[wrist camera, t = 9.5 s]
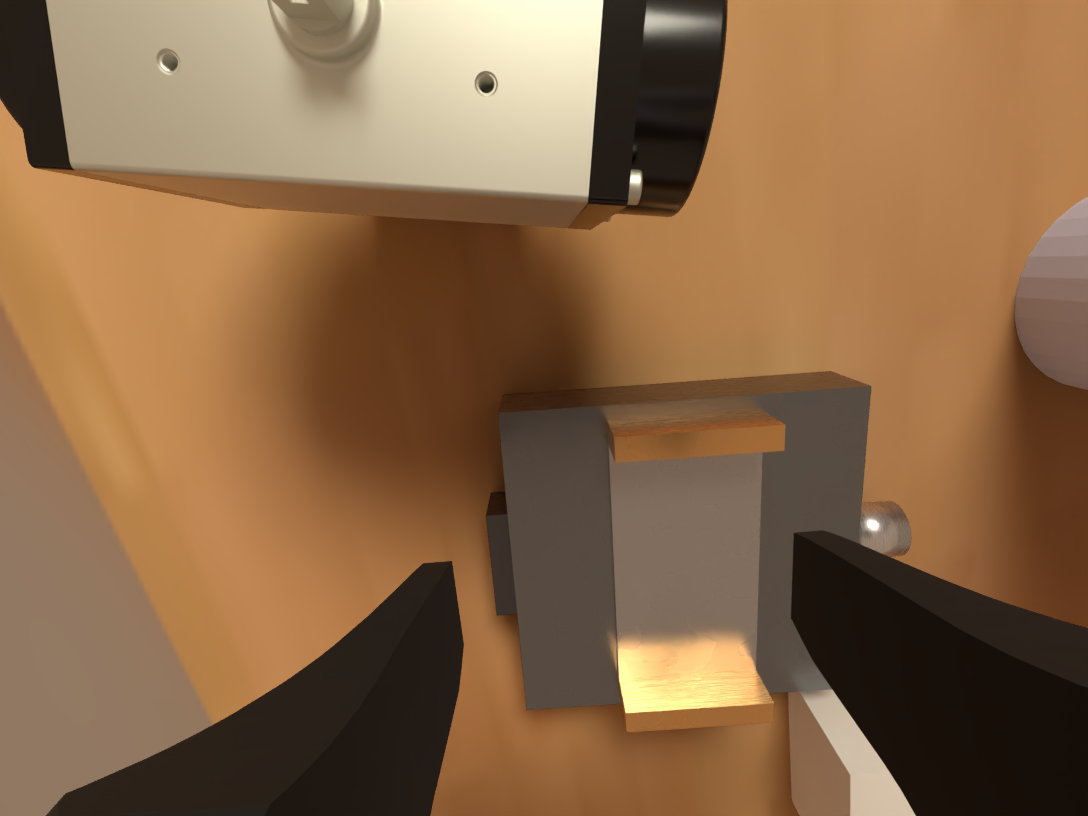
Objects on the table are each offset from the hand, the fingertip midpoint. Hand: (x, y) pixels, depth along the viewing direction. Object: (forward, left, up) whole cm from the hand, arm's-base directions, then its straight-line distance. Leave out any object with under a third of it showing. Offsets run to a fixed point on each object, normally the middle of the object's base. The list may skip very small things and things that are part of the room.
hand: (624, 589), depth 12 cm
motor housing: (-3, +4, -10) cm, 11 cm away
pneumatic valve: (+4, -11, -10) cm, 15 cm away
